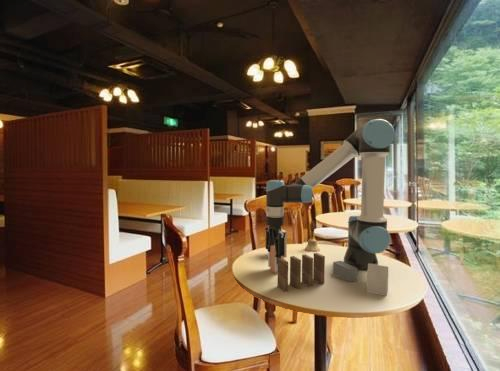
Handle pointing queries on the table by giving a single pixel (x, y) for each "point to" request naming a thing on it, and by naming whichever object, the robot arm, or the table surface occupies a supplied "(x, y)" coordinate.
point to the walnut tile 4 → (318, 268)
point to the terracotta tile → (272, 258)
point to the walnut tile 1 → (282, 274)
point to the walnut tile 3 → (307, 270)
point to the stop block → (345, 271)
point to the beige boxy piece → (377, 279)
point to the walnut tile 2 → (295, 272)
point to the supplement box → (284, 242)
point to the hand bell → (312, 240)
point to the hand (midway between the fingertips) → (274, 268)
